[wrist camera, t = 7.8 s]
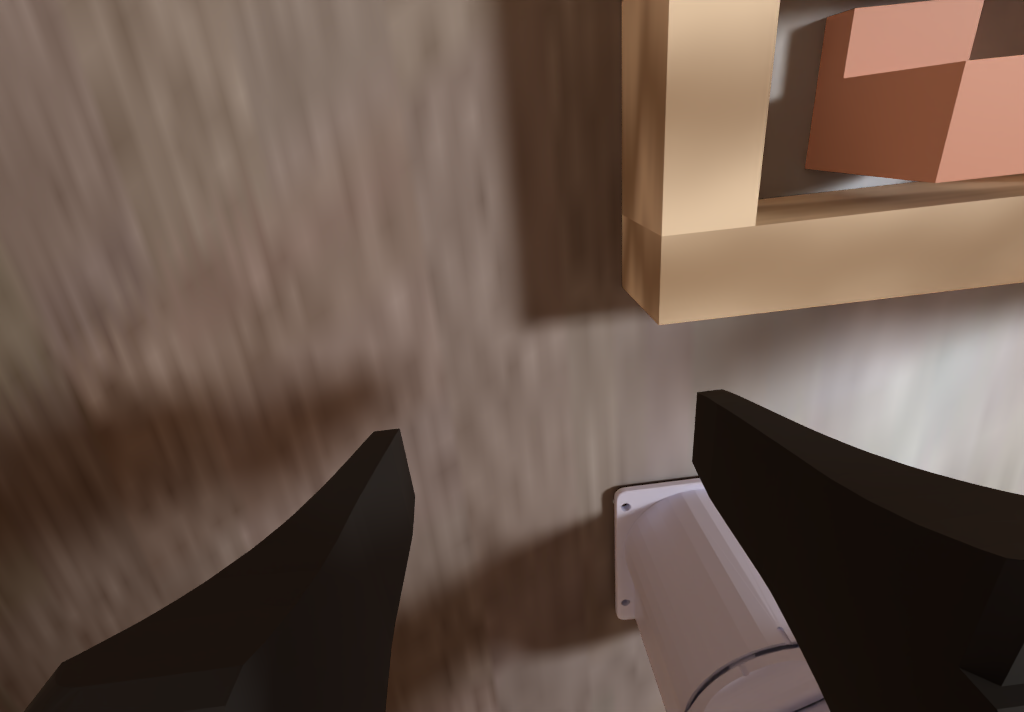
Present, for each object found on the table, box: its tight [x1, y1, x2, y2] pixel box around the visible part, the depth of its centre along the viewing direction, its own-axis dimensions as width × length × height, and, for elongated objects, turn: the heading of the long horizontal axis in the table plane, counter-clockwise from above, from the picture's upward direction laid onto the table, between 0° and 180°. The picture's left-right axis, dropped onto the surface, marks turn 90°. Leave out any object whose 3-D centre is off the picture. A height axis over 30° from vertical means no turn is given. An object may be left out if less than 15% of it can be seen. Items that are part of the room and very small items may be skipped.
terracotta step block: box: [805, 0, 1024, 183], centre depth 16 cm, size 5×4×6 cm
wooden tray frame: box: [622, 0, 1024, 325], centre depth 16 cm, size 13×19×4 cm
